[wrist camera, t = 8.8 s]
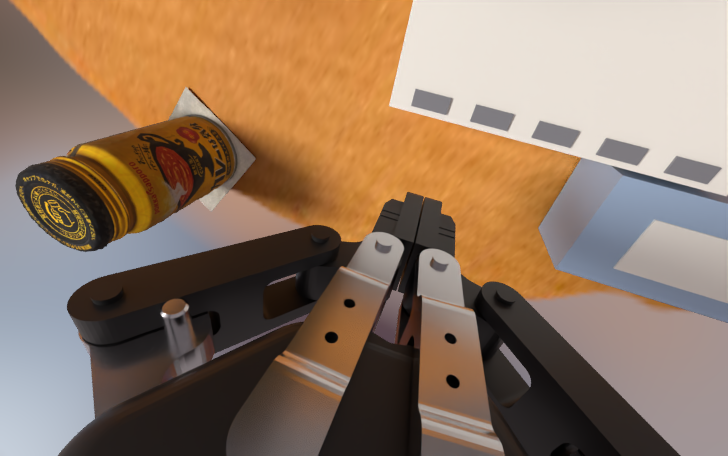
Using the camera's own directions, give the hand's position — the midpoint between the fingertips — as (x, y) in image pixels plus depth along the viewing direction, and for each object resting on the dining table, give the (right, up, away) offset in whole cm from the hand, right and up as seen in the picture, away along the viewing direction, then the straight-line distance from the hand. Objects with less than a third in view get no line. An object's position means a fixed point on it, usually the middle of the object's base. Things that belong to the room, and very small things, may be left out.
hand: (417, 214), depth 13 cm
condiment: (-16, +6, +14) cm, 22 cm away
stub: (+18, 0, +6) cm, 19 cm away
